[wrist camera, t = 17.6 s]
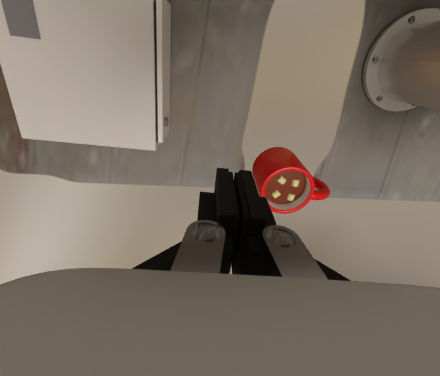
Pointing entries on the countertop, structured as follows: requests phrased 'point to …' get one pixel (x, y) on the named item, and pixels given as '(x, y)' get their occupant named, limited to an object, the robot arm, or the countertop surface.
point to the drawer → (162, 66)
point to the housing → (81, 70)
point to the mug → (286, 181)
